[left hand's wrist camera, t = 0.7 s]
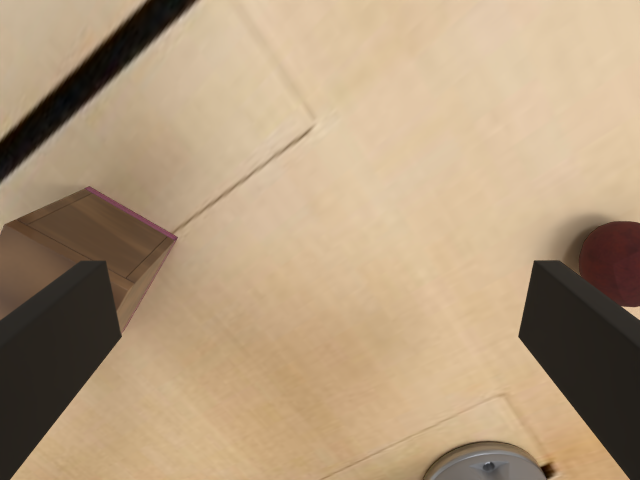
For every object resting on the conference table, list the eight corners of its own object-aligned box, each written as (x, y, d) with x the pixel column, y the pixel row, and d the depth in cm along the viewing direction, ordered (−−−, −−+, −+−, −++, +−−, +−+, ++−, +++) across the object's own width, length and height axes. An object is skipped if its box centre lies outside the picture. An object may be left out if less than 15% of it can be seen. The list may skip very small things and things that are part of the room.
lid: (69, 400, 35) (-7, 495, 27) (-40, 350, 33) (-156, 436, 25) (134, 283, 31) (69, 354, 23) (15, 219, 29) (-103, 271, 21)
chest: (124, 330, 44) (72, 395, 34) (41, 287, 42) (-37, 344, 33) (177, 237, 40) (135, 283, 31) (89, 186, 38) (15, 218, 29)
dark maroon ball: (579, 295, 42) (627, 334, 35) (550, 236, 40) (596, 266, 33) (650, 259, 40) (714, 293, 34) (624, 195, 38) (688, 219, 32)
